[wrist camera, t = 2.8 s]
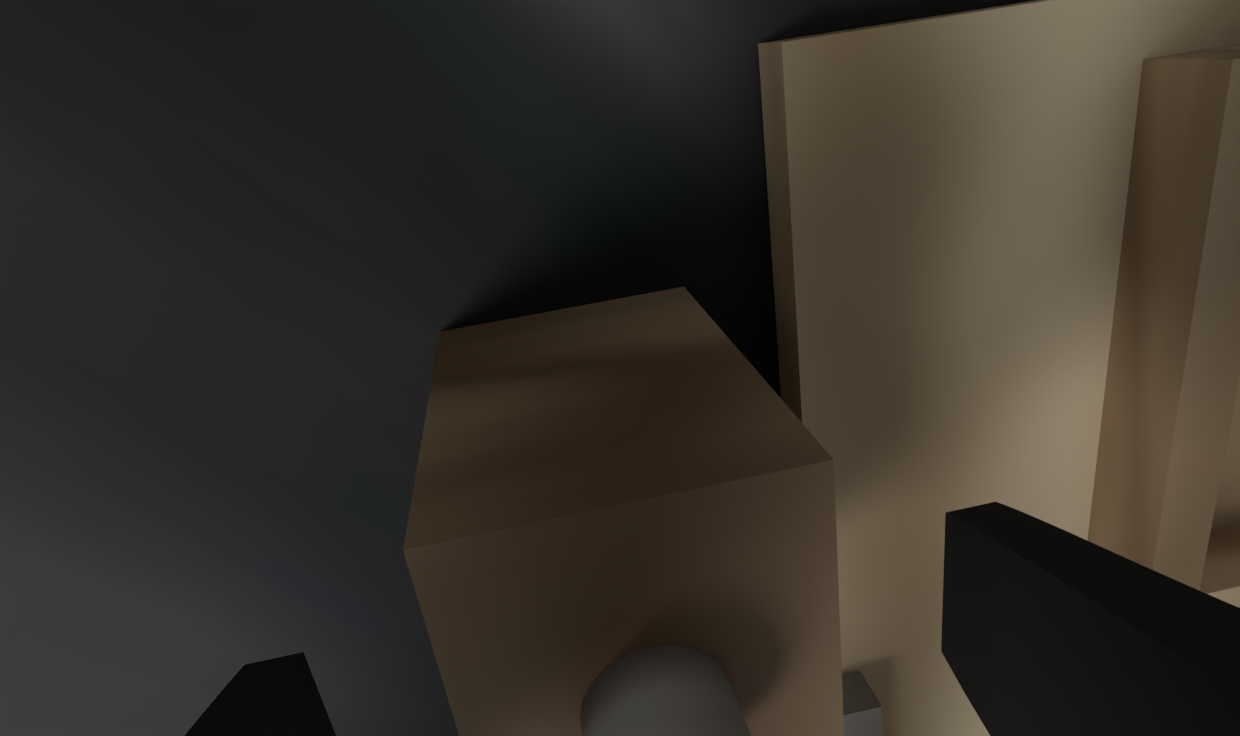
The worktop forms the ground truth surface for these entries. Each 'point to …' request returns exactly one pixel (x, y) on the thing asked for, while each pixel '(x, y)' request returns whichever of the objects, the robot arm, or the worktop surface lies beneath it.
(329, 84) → the worktop surface
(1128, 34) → the oak jig
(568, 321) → the block
